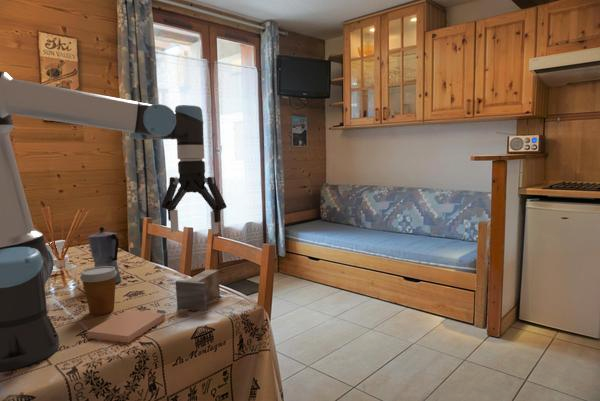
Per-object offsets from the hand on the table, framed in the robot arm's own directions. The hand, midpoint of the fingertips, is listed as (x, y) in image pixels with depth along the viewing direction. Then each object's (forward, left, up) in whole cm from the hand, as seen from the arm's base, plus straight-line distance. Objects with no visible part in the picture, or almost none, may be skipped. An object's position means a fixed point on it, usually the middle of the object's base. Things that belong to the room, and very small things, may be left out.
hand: (194, 232), depth 118 cm
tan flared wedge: (0, -1, -21) cm, 21 cm away
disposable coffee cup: (-13, +24, -21) cm, 34 cm away
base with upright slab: (+16, +74, -21) cm, 78 cm away
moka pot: (+9, +42, -21) cm, 48 cm away
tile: (-14, +8, -20) cm, 26 cm away
